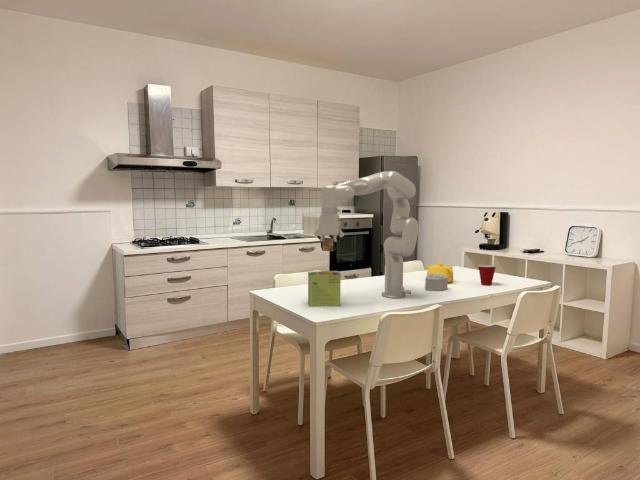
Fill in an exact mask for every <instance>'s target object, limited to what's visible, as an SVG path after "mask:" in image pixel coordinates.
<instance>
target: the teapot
mask: <svg viewBox="0 0 640 480" xmlns="http://www.w3.org/2000/svg"><path fill="white" fill-rule="evenodd" d="M425 268H426V270H427V271H426V276H428V275H429V274H433V275H435V274H442V275H444V276H445V277H448V281H447V284H451V283H452V284H453V282H454V270H453V267H452V266H449V265H444V263H443V262H437V264H433V265H426V266H425Z"/></svg>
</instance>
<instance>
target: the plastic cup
mask: <svg viewBox="0 0 640 480" xmlns="http://www.w3.org/2000/svg"><path fill="white" fill-rule="evenodd" d="M477 268H478V272H479V280H480V284H481V286H492V283H493V279H494V275H495V271H496V268H497V265H492V264H491V265H489V264H480V265H479V264H478V265H477Z"/></svg>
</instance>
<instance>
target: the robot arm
mask: <svg viewBox="0 0 640 480" xmlns="http://www.w3.org/2000/svg"><path fill="white" fill-rule="evenodd" d="M416 188H417V187H416V186H415V184H414V183H413V182H412V181H411V180H410V179H408V178H406V177H405V176H403V174H400V173H399V172H397V171H394V170H390V171H389V170H388V171H380V172H376V173H373V174H371V175H367V176H364V177H360V178H356V179H353V180H349V181H346V182H342V183H339V184H336V185H335V184H334V185H323V186H322V187H321V201H320V203H321V204H320V205H321V207H320V208H321V210H320V211H321V214H320V215H319V216H318V217H319V218H318V226H317V227H318V228H317V229H316V230H315V231H314V234H313V235H314V236H315V237H316V238H317V239H318V240H319V241H320V248H321V250H322V251H323V238H325V237H326V236H332V238H334V242H333V250H335V251H336V250H337V249H338V242H339V241H340V239H341V238H343V237H344V236H345V233H344V232H343V230H342V229H341V220H340V215H339V214H338V213H340V212H341V209H340V208H338V202H348V201H351V200H352V199H354V196H363V195H364V196H366V195H369V194H372V193H374V192H378V191H380V190H381V191H382V190H385V189H387V190H386V192H387V195H388V196H389V198H390V200H391V201H392V203H393V210H392V216H391V222H390V227H389V229H390V231H391V233H392V234H395V235H399V236H389V237H387V238H386V239H384V242H383V250H384V251H383V252H384V258H385V259H384V261H385V263H384V265H385V266H384V291H383V292H381V296H382V297H384V298H388V299H389V298H390V299H401V298H405V297H406V294H407V295H411V294H412V290H411V289H406V288H405V287H404V286H403V285H404V259H403V257H404V258H405V257H406V258H407V257H408V258H409V257H410V256H412V255H413V253H414V252H415V249H416V244H417V240H418V234H419V229H420V227H419V222H418V221H417V219H416V218H413V217H410V212H411V206H410V202H409V199H412V198H414V197H415V195H416V193H417V189H416ZM400 235H401V237H400Z"/></svg>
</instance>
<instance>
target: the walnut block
mask: <svg viewBox="0 0 640 480" xmlns="http://www.w3.org/2000/svg"><path fill="white" fill-rule="evenodd" d="M333 242H334V238H333V237H326V236H325V238H323V250H322V252H334V251H336V250H333Z"/></svg>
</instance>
